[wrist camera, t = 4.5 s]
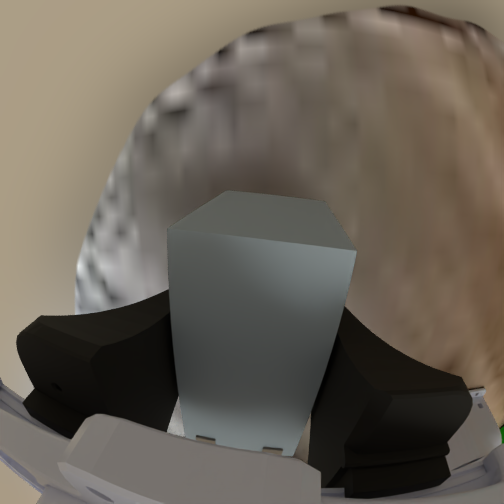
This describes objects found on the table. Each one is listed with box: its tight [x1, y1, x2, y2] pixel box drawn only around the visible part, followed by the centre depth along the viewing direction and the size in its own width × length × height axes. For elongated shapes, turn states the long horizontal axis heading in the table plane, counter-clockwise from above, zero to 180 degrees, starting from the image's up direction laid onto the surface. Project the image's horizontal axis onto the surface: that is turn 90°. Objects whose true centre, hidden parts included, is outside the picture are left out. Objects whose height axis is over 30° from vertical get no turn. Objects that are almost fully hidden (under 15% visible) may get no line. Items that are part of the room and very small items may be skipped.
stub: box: [167, 190, 357, 456], centre depth 10 cm, size 4×8×6 cm, turn 176°
